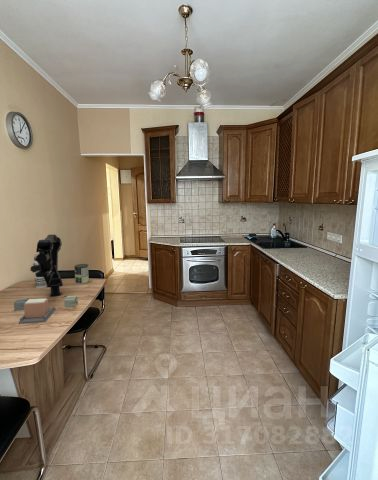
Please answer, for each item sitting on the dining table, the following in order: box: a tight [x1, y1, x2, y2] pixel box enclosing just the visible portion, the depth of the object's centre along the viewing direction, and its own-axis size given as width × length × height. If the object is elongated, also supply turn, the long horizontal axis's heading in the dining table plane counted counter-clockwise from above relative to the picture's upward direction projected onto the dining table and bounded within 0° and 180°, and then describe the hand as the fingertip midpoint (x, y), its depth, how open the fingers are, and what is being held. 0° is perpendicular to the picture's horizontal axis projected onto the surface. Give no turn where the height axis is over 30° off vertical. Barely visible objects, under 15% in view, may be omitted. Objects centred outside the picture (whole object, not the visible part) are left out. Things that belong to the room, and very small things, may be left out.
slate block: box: [13, 297, 30, 312], centre depth 151 cm, size 6×6×5 cm
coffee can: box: [73, 263, 90, 285], centre depth 200 cm, size 10×10×14 cm
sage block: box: [63, 295, 79, 308], centre depth 156 cm, size 6×6×5 cm
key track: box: [18, 306, 56, 325], centre depth 141 cm, size 16×13×2 cm
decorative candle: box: [32, 253, 47, 289], centre depth 189 cm, size 9×9×25 cm
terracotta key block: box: [23, 298, 50, 318], centre depth 139 cm, size 6×10×9 cm, turn 101°
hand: (48, 284), depth 156 cm, fingers closed
